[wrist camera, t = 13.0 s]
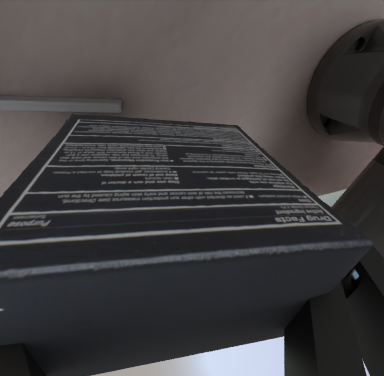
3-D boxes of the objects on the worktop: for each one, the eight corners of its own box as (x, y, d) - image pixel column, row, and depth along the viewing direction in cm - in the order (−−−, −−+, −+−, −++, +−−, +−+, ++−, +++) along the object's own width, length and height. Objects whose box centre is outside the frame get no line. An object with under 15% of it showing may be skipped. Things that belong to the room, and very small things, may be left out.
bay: (97, -126, 17) (89, -154, 15) (122, 107, 27) (120, 113, 24) (-141, -178, 14) (-200, -225, 12) (-16, 104, 24) (-35, 110, 22)
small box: (84, 204, 15) (14, 402, 7) (67, 111, 12) (-124, 279, 3) (222, 200, 18) (297, 344, 9) (240, 123, 14) (389, 237, 6)
